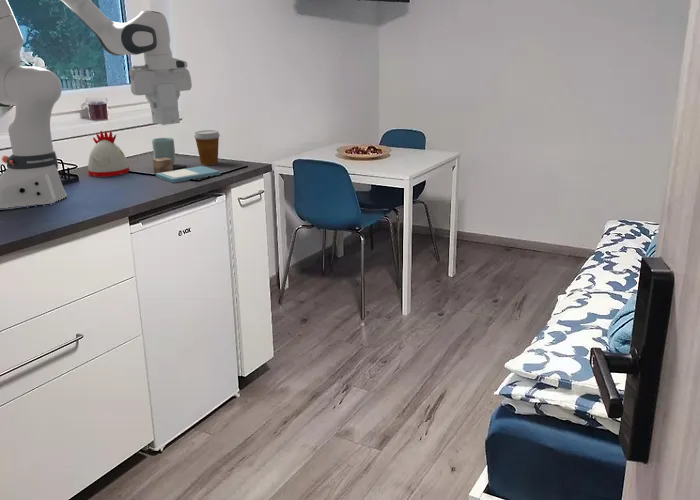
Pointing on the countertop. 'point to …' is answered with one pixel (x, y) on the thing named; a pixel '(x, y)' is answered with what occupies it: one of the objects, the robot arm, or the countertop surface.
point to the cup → (164, 148)
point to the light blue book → (187, 174)
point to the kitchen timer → (107, 157)
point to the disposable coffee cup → (207, 146)
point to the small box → (165, 105)
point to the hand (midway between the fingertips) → (164, 106)
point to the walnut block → (162, 165)
